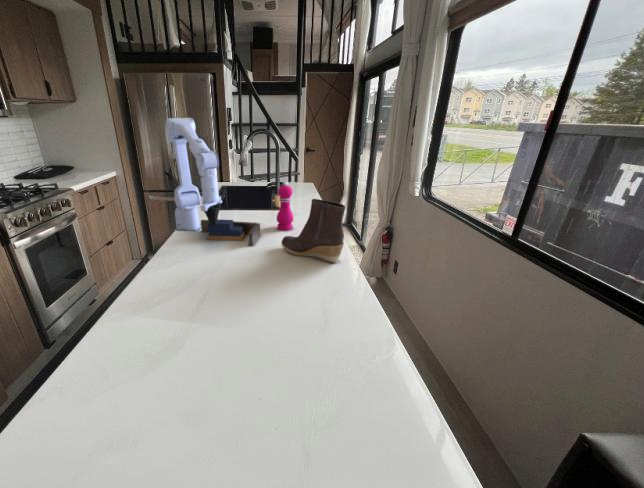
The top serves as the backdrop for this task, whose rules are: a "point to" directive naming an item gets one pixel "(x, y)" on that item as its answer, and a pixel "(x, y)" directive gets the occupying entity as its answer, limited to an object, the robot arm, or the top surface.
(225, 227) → the trainer
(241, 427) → the top surface
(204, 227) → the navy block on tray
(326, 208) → the boot
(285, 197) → the pepper mill
